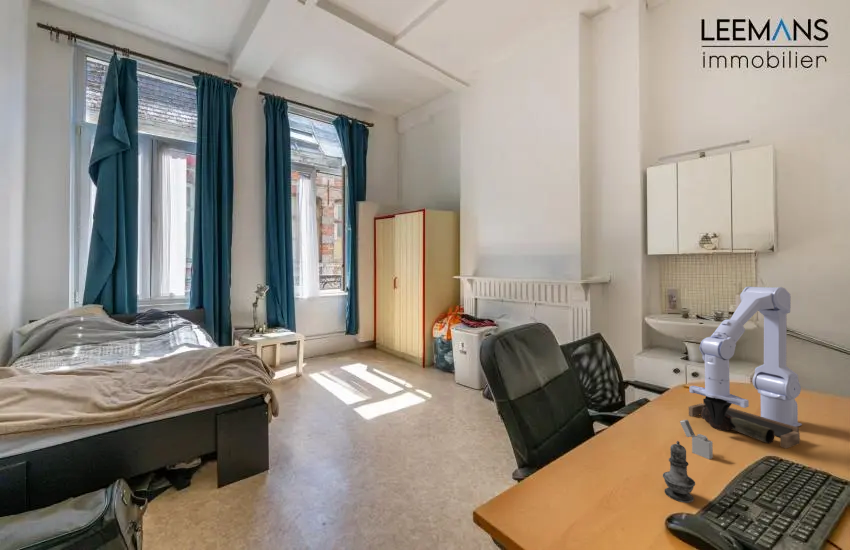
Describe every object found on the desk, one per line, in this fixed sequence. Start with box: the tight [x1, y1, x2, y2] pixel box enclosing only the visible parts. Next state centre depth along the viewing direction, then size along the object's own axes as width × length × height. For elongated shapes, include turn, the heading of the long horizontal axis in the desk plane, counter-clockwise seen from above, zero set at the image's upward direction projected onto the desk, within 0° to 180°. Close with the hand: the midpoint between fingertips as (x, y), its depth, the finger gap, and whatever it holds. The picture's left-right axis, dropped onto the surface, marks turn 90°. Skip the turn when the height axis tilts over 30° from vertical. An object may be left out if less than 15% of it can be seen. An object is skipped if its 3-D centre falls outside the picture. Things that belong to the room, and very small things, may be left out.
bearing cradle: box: [688, 402, 801, 449], centre depth 111 cm, size 8×25×4 cm, turn 22°
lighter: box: [679, 419, 714, 460], centre depth 97 cm, size 7×2×8 cm, turn 27°
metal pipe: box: [700, 407, 776, 444], centre depth 109 cm, size 18×7×6 cm, turn 21°
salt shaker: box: [662, 440, 696, 504], centre depth 79 cm, size 6×6×12 cm
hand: (717, 423), depth 107 cm, fingers closed
